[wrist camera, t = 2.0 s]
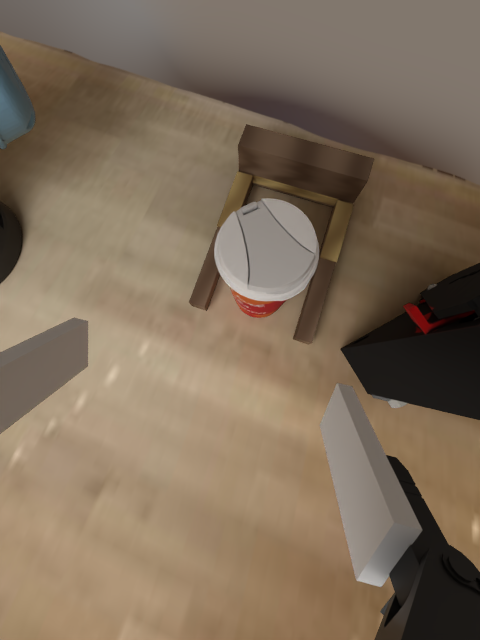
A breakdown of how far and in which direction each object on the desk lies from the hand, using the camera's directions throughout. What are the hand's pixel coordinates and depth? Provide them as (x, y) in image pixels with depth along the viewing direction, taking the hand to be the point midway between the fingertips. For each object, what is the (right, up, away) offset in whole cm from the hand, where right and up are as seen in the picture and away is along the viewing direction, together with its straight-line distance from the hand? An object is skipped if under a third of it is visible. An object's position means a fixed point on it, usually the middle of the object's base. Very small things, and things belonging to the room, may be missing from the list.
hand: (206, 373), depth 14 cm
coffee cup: (+4, +6, +21) cm, 22 cm away
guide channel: (+6, +11, +21) cm, 25 cm away
